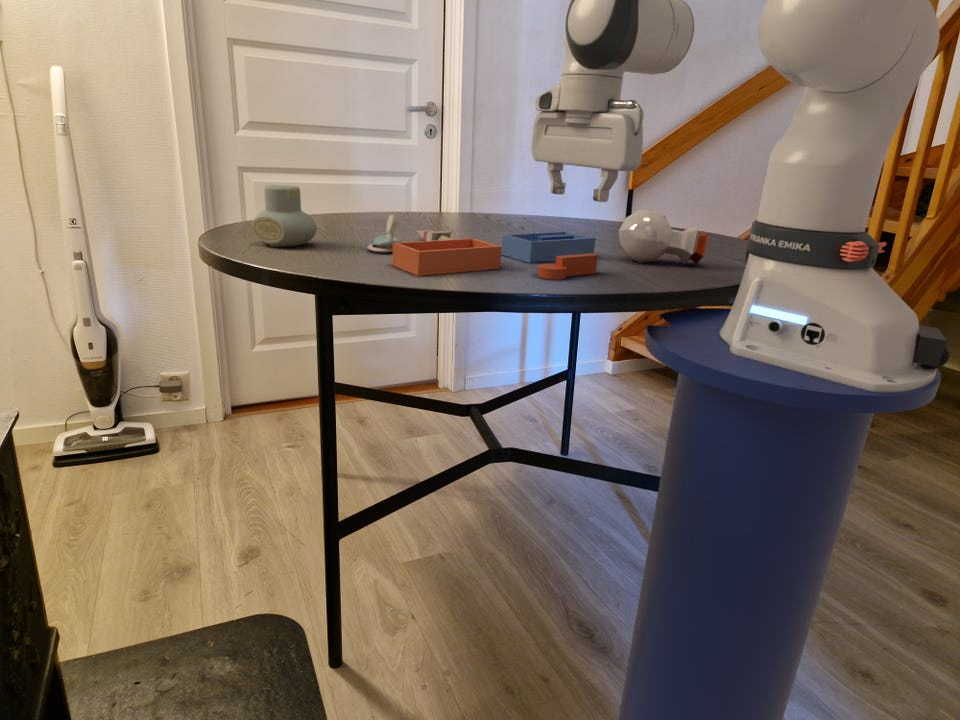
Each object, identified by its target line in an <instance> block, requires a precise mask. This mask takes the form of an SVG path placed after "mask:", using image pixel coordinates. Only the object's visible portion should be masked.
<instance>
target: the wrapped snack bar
mask: <svg viewBox="0 0 960 720" xmlns="http://www.w3.org/2000/svg"><path fill="white" fill-rule="evenodd" d="M415 231H416V232H417V233H418V235H419V236H420V237H421V238H422V239H423V241H434V240H452V238H451V235H452V232H451V231H444V230H443V231H442V230H434V229H433V230H432V229H415Z"/></svg>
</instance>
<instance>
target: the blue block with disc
mask: <svg viewBox="0 0 960 720" xmlns="http://www.w3.org/2000/svg"><path fill="white" fill-rule="evenodd" d="M561 239H574V236H573V235H569V234H566V235H548V236H537V241H545V240H561Z"/></svg>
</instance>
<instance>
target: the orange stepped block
mask: <svg viewBox="0 0 960 720" xmlns="http://www.w3.org/2000/svg"><path fill="white" fill-rule="evenodd" d="M598 256H599V255H598V254H595V253H594V254H592V253H589V254H577V255H565V256H556V261H555V263H541V264H538V267H537V268H538V269H537V277H538V278H541V279H546V280H553V281H560V280H561V281H562V280H565V279H567V277H573V276H581V275H582V276H583V275H590V274H591V275H593V274H597V267H598V266H597V265H598V258H599V257H598Z"/></svg>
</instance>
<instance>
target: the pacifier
mask: <svg viewBox="0 0 960 720" xmlns="http://www.w3.org/2000/svg"><path fill="white" fill-rule="evenodd" d="M397 227H398V219H397V217H396V216H395V215H394V214H390V215H389V217H388V219H387V222H386V228H385V232H386V233H383V234H379V235H377V236H376V237H374V238H373V243H370V244H368V245H367V250H368V251H371V252H375V253H393V243H398V242H403V241H402V240H398V238H397V237H395V234H394V232H395V231H396V229H397Z"/></svg>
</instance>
